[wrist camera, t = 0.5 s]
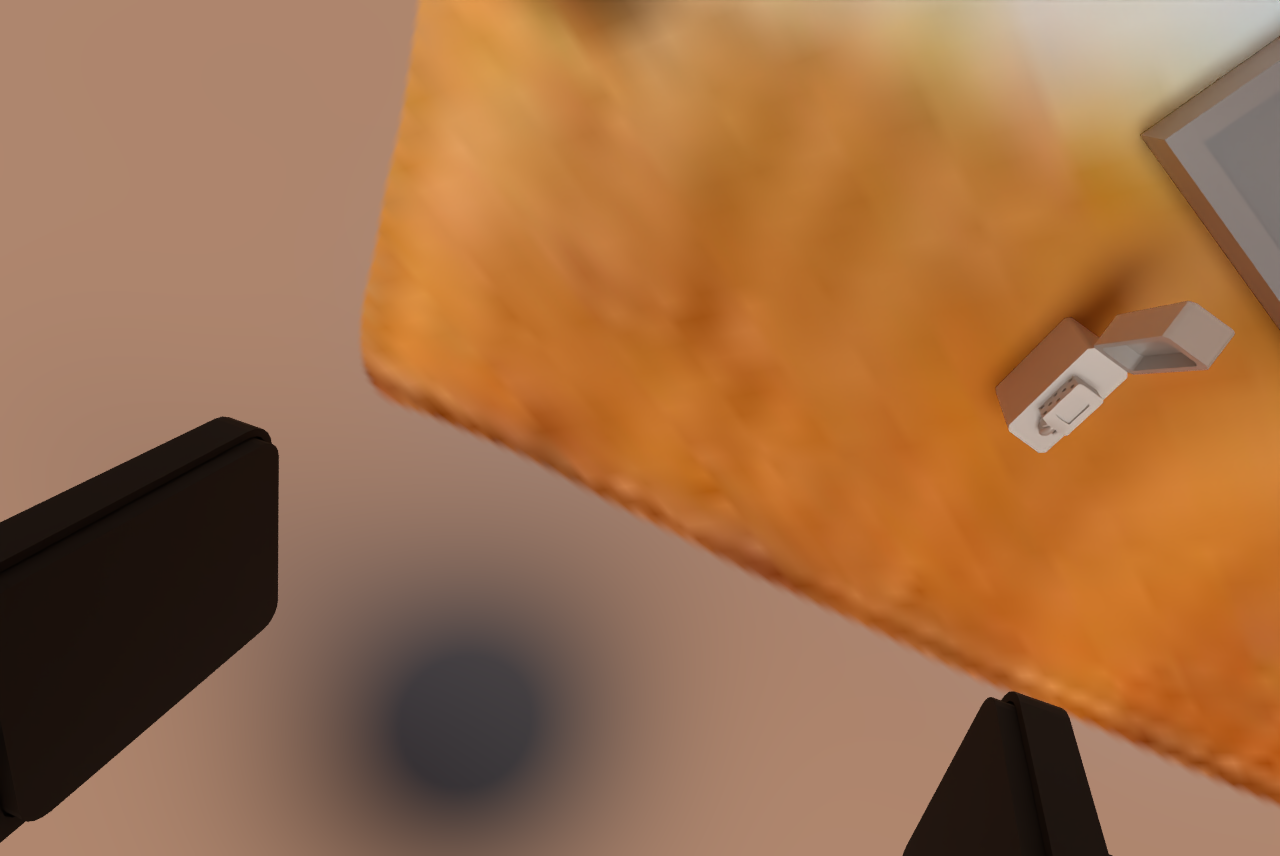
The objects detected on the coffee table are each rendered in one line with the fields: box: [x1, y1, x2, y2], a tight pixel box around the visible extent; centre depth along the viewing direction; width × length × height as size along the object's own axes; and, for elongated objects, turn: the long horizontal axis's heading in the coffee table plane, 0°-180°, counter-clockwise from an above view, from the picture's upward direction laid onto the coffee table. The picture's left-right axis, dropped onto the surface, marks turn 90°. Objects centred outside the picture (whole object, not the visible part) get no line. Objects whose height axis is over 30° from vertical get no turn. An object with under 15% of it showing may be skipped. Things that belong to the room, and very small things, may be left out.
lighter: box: [996, 301, 1235, 453], centre depth 29 cm, size 7×2×8 cm, turn 147°
